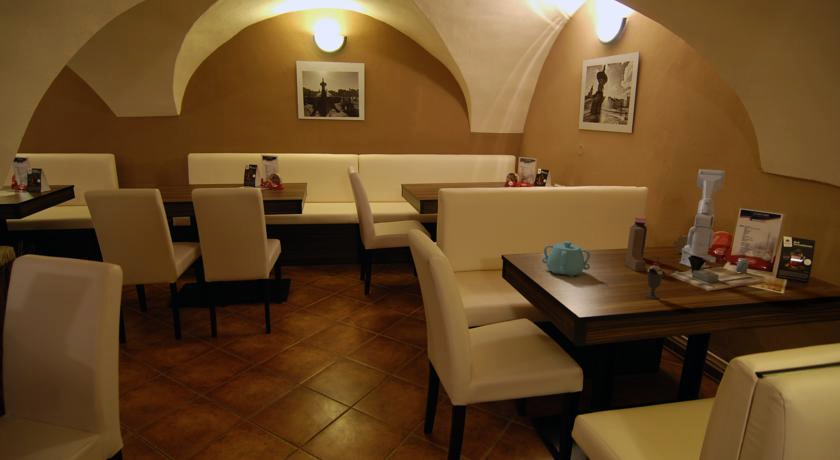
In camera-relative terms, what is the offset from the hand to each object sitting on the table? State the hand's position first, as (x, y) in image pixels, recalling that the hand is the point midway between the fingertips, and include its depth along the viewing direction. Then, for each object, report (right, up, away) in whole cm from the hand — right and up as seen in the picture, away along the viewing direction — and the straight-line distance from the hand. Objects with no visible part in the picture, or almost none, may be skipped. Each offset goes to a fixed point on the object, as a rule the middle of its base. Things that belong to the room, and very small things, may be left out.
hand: (694, 273), depth 203 cm
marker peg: (+26, 0, +10) cm, 28 cm away
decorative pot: (-53, 0, +5) cm, 54 cm away
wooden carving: (+17, +6, +35) cm, 39 cm away
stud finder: (+2, -2, -4) cm, 5 cm away
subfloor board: (+9, -2, 0) cm, 9 cm away
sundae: (-28, -7, -21) cm, 36 cm away
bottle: (-13, +5, +28) cm, 31 cm away
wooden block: (-20, +1, +13) cm, 23 cm away
